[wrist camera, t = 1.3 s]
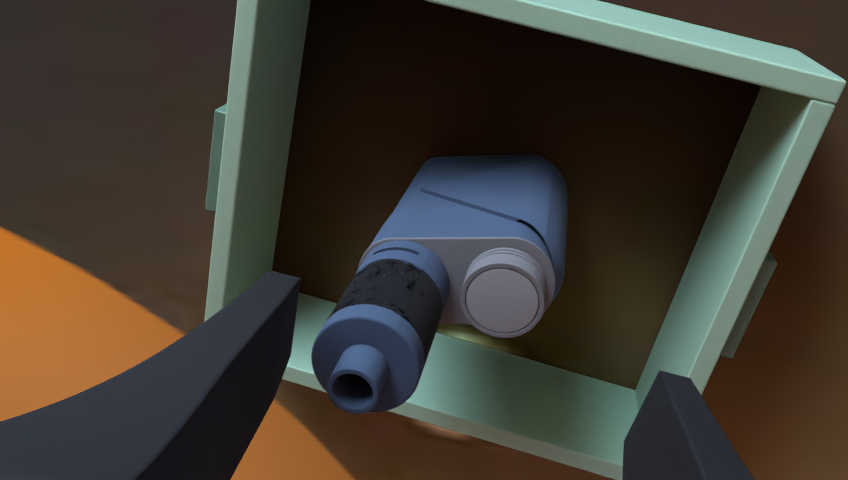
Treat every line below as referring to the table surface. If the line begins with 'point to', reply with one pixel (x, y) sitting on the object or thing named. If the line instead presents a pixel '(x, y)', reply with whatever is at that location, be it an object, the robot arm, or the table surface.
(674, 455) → the robot arm
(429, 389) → the storage box
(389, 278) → the vaping device
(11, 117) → the table surface
